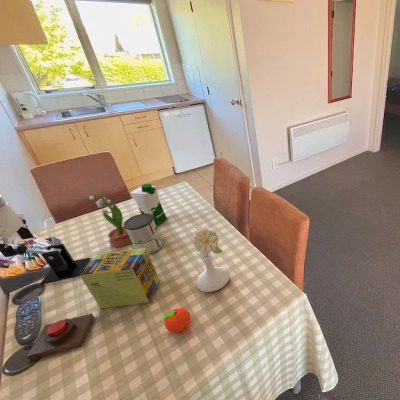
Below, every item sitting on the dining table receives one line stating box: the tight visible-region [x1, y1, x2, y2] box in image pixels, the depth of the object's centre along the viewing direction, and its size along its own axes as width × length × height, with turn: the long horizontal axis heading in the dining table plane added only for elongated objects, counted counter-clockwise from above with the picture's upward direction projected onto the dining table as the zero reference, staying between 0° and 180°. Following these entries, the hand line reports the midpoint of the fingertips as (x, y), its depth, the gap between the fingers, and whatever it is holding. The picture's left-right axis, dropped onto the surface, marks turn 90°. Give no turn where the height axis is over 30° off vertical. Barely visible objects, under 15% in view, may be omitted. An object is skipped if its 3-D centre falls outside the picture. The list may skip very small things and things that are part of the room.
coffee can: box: [122, 213, 164, 255], centre depth 111 cm, size 10×10×14 cm
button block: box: [26, 313, 96, 361], centre depth 78 cm, size 12×10×4 cm
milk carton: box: [129, 183, 168, 227], centre depth 127 cm, size 9×9×20 cm
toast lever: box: [14, 244, 62, 255], centre depth 95 cm, size 12×3×3 cm, turn 110°
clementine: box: [159, 307, 191, 334], centre depth 80 cm, size 8×7×7 cm
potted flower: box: [89, 191, 133, 248], centre depth 112 cm, size 12×10×25 cm
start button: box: [47, 320, 68, 337], centre depth 77 cm, size 4×4×2 cm
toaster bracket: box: [40, 243, 91, 285], centre depth 99 cm, size 12×10×12 cm
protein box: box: [79, 248, 161, 309], centre depth 89 cm, size 10×15×16 cm
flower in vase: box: [192, 228, 231, 293], centre depth 91 cm, size 13×11×25 cm
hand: (20, 246), depth 93 cm, fingers open, 9 cm apart
